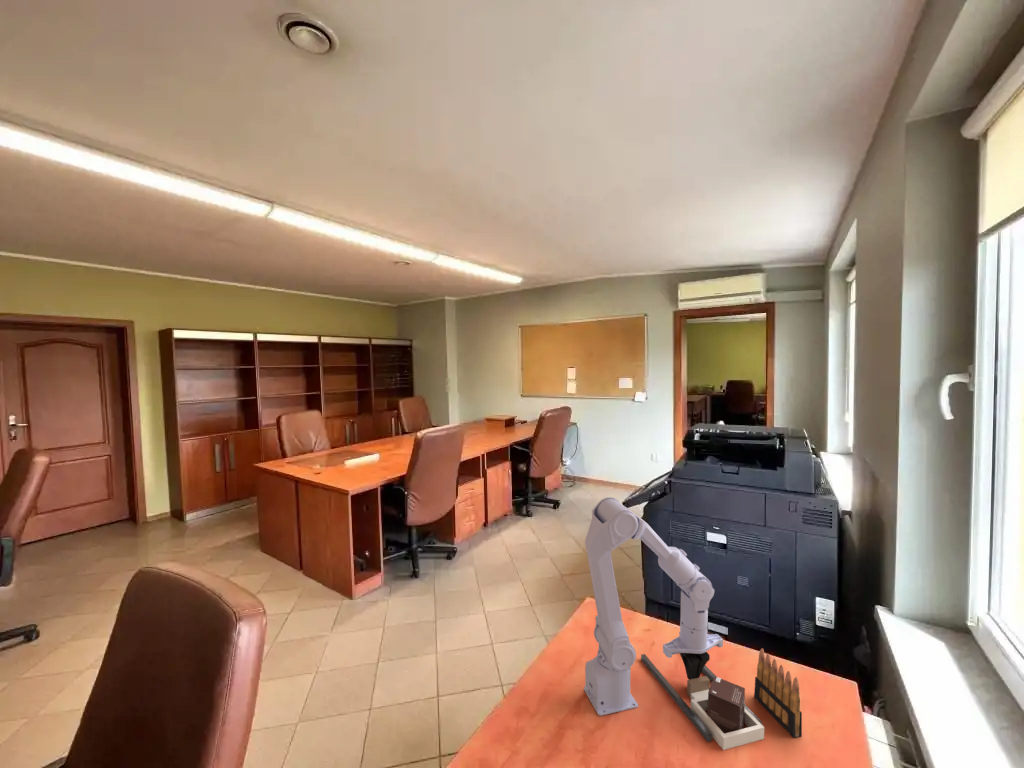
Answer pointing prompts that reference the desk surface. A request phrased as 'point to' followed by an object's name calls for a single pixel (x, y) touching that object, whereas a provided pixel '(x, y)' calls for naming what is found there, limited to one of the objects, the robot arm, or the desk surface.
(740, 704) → the box
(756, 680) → the ammunition clip
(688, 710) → the track
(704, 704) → the frame
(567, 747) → the desk surface
